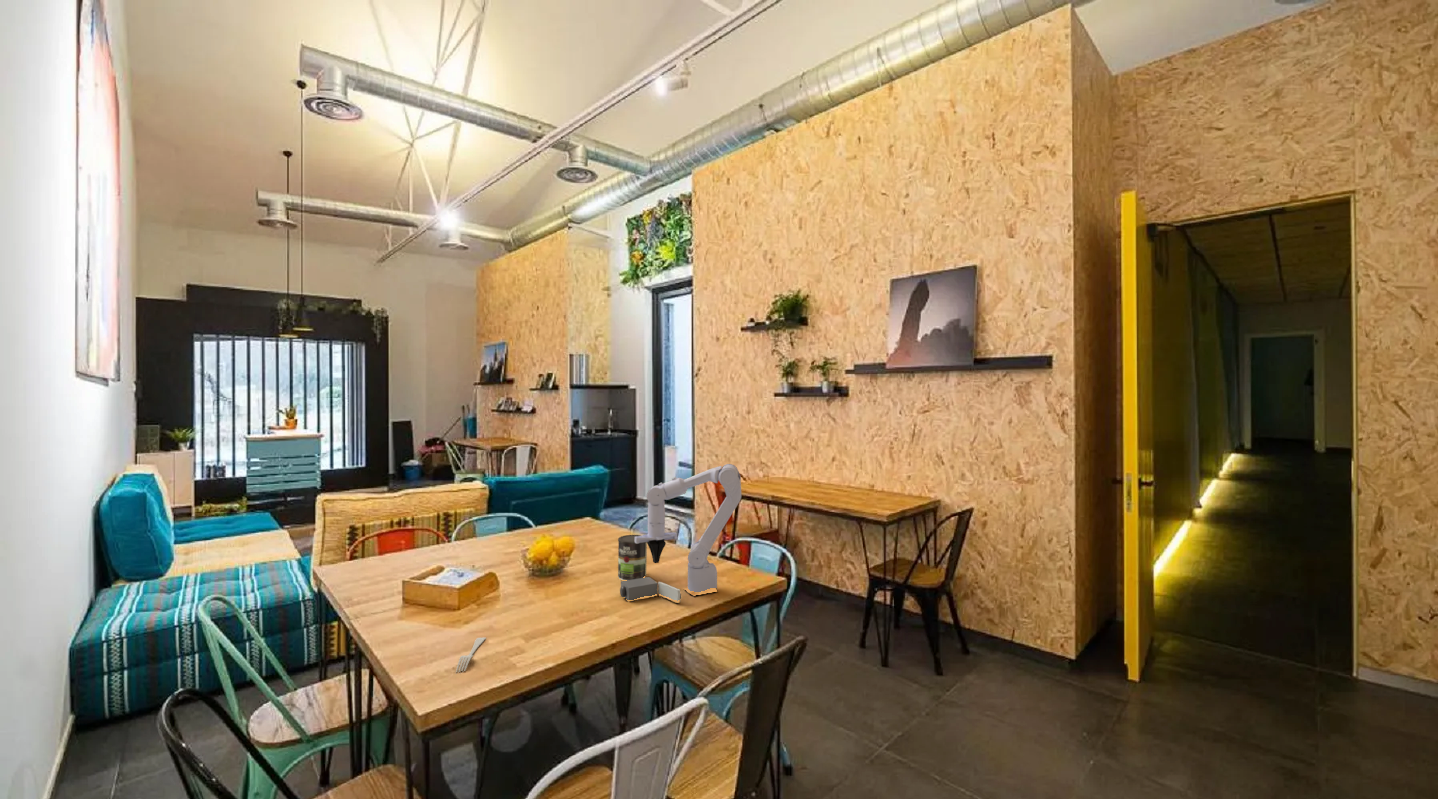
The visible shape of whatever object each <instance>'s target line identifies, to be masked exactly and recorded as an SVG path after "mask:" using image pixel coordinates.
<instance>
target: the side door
mask: <svg viewBox="0 0 1438 799" xmlns="http://www.w3.org/2000/svg"><path fill="white" fill-rule="evenodd" d="M657 583H658V593H659V594H661V595H663V596H666V597H669V598H671V599H673V600H677V601H678V600H680V601H681V599H682V593H681V589H680V588H676V587H675V586H672V585H669V584H667V583H665V582H662V581H658V582H657Z"/></svg>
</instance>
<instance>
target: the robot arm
mask: <svg viewBox="0 0 1438 799" xmlns="http://www.w3.org/2000/svg"><path fill="white" fill-rule="evenodd" d="M741 478H742V477H741V474H740V472H739V469H738V468H737V467H736V465H734V464H732V463H727V464H724V465H723V466H722V465H720V466H716V467H712V468H710V469H707V470H704V471H702V472H700V473H697V474H695V475H693V476H690V477H688V478H681V477H676V476H674V477H672V478H671V480H669V481H666V482H660V483H658V484H657V485H653V486H652V487H651V488H650V489H649V490H648V492H647V494H646V499H647V503H648V504H647V506H648V507H647V534H640V535H641V536H636V537H635V543H636V544H639V543H642V542H647V547H648V548H649V551H650V553H651V557H652V562H653V563H654V564H659V563H660V559H661V555H662V553H663V550H664V548H665V546H666V541H668V540H678V532H666V530H665V529H666V527H665V526H666V522H665V521H666V507H665V502H666V501H667V500H671V499H674V498H678V497H679V496H682V495H685V494H686V493H687V491H688V489H691V488H694V487H697V486H699V485H702V484H705V483H709V482H711V483H714V484H718V483H720V484H721V485H720V486H722V487H723V489H724V493H725V496H726V497H725V498H724V500H723V501H722V503H721V504H720V506H719V508H718V509H717V511H716V513H715V514H714V516H713V517H712V519H711V521H710V522H709V524H708V526H707V527H706V529H705V531H704V532H703V533H702V535H701V537H700V538H699V540H697V541H696V542H695V543H693V544H692V546H691V548H690V551H689V553H688V555H687V561H688V562H687V587H688V589H689V590H690V591H694V592H701V591H705V590H707V589H710V588H717V589H718V570H717V566H716V565H715V564H714V563H713V562H710V561H709V560H708V556H709V555H710V554H709V553H710V551H711V549H712V547H713V546H714V544H715V542H716V540H717V538H718V537H719V536H720V534H721V532H722V530H723V529H724V527H725V525H726V524H727V522H728V521H729V519H730V518H731V516H732V514H733V513H734V511H735V510H736V508H737V506H738V505H739V503H740V501H741V500H742V483H741V482H742V480H741ZM665 500H666V501H665Z"/></svg>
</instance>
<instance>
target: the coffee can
mask: <svg viewBox="0 0 1438 799" xmlns="http://www.w3.org/2000/svg"><path fill="white" fill-rule="evenodd" d="M641 535H642V534H626V535H621V536H619V537H618V539H617V541H618V549H617V550H618V553H617V554H618V556H617V557H618V559H617V560H618V562H617V564H618V565H617V571H618V572H617V578H618V577H619V579H621V580H633V579H639V578H643V577H644V576H647V562H648V561H647V558H648V556H647V555H648V554H647V553H648V550H647V549H648V544H647V542H642V543H639V544H636V543H635V537H636V536H641ZM619 579H618V580H619ZM621 580H620V581H621Z"/></svg>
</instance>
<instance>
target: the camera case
mask: <svg viewBox="0 0 1438 799" xmlns="http://www.w3.org/2000/svg"><path fill="white" fill-rule="evenodd" d="M619 592H620V593H619V594H620V597H621V598H623V597H625V598H626V599H627V600H634V599H637V598H640V597H644V596H652V595H655V594H658V582H657V581H655V580H654V579H653V578H652V577H651V576H647V577H645V578H639V579H633V580H627V581H621V580H620V588H619ZM625 598H624V599H625ZM626 599H625V600H626ZM627 600H626V601H627Z"/></svg>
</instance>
